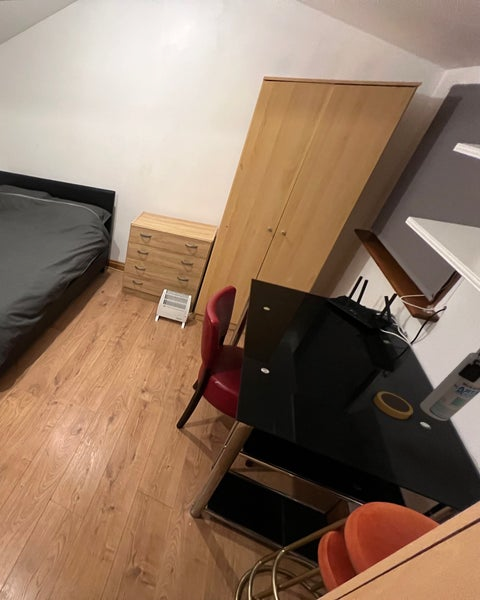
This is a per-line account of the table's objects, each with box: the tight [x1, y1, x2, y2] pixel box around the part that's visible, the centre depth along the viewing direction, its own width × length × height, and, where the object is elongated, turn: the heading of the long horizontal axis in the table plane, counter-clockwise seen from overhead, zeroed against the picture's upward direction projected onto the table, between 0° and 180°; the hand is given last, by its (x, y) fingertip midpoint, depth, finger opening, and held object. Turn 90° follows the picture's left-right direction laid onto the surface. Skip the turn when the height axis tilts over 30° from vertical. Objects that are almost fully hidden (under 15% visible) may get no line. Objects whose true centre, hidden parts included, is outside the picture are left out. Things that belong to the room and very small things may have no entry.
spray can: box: [419, 352, 480, 422], centre depth 87 cm, size 6×6×20 cm
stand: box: [373, 391, 414, 420], centre depth 114 cm, size 10×10×3 cm
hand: (472, 374), depth 84 cm, fingers closed on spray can, 6 cm apart
